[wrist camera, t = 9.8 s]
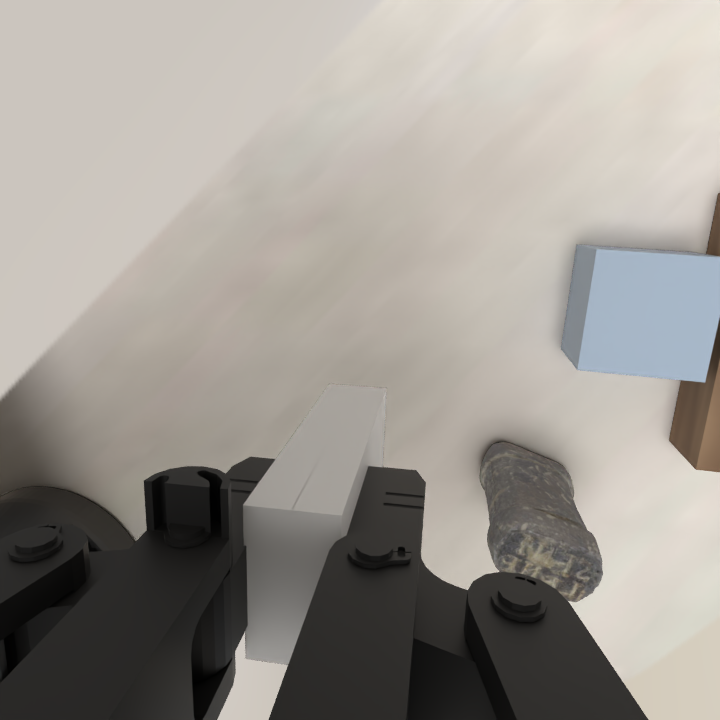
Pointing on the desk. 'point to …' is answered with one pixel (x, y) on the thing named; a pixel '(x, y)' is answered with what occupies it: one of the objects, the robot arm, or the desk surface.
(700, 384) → the board
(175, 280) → the desk surface
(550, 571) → the stone
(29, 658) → the robot arm
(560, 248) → the desk surface
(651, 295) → the block
